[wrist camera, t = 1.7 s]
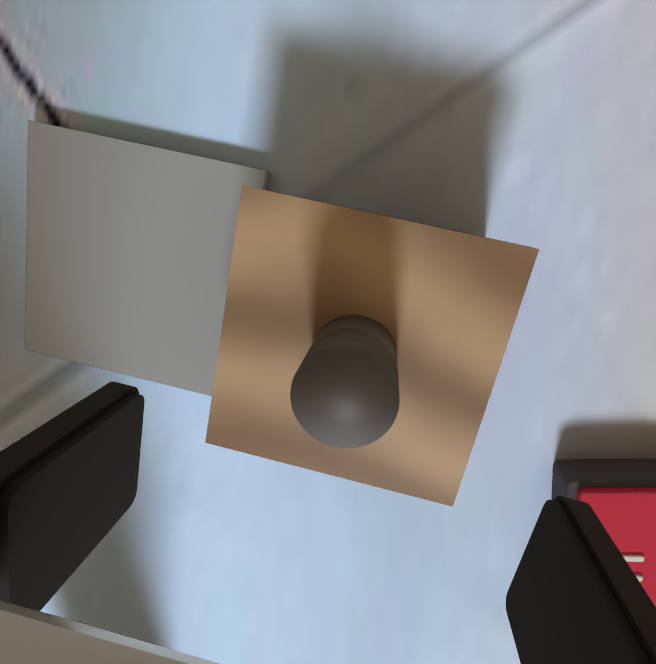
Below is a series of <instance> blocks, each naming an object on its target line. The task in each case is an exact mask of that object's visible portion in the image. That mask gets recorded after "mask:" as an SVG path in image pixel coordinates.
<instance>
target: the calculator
mask: <svg viewBox="0 0 656 664" xmlns="http://www.w3.org/2000/svg"><path fill="white" fill-rule="evenodd" d="M557 496H564V497H568V498H571V499H575V500H579V501H583V502H586V503H588V504H589V505H590V506H591V508H592V509H593V511H594V512H595V514H596V515H597V517H598V518H599V520H600V521H601V523H602V525H603V526H604V528H605V529H606V531H607V532H608V534H609V535H610V537H611V538H612V540H613V542H614V543H615V545H616V546H617V548H618V549H619V551H620V552H621V554H622V556H623V557H624V559H625V560H626V562H627V563H628V565H629V566H630V568H631V569H632V571H633V573H634V574H635V576H636V577H637V579H638V580H639V582H640V583H641V585H642V586H643V588H644V590H645V591H646V593H647V594H648V596H649V597H650V599H651V600H652V602H653V604H654V605H655V607H656V459H576V460H558V461H556V462H555V463H554V464H553V477H552V501H553V500H554V499H555V498H556V497H557Z"/></svg>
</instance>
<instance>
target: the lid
mask: <svg viewBox="0 0 656 664" xmlns="http://www.w3.org/2000/svg"><path fill="white" fill-rule="evenodd" d="M538 251H539V249H536V248H532V247H528V246H523V245H518V244H514V243H509V242H505V241H500V240H495V239H491V238H486V237H481V236H477V235H472V234H467V233H463V232H458V231H453V230H449V229H444V228H439V227H435V226H430V225H426V224H421V223H416V222H412V221H407V220H402V219H398V218H393V217H388V216H384V215H379V214H374V213H370V212H365V211H360V210H356V209H351V208H347V207H342V206H337V205H333V204H328V203H323V202H319V201H314V200H309V199H305V198H300V197H295V196H291V195H286V194H281V193H277V192H272V191H267V190H263V189H258V188H254V187H249V186H243V185H242V190H241V197H240V204H239V211H238V218H237V225H236V232H235V239H234V246H233V253H232V260H231V267H230V274H229V281H228V288H227V295H226V302H225V309H224V316H223V323H222V330H221V337H220V344H219V351H218V358H217V365H216V372H215V379H214V386H213V393H212V400H211V407H210V414H209V421H208V428H207V435H206V442H205V443H209V444H213V445H217V446H221V447H225V448H229V449H232V450H236V451H240V452H244V453H248V454H252V455H256V456H259V457H263V458H267V459H271V460H275V461H279V462H283V463H287V464H290V465H294V466H298V467H302V468H306V469H310V470H314V471H317V472H321V473H325V474H329V475H333V476H337V477H341V478H345V479H348V480H352V481H356V482H360V483H364V484H368V485H372V486H376V487H379V488H383V489H387V490H391V491H395V492H399V493H403V494H406V495H410V496H414V497H418V498H422V499H426V500H430V501H434V502H437V503H441V504H445V505H449V506H453V504H454V501H455V498H456V495H457V492H458V489H459V486H460V483H461V480H462V477H463V474H464V471H465V468H466V465H467V462H468V459H469V456H470V453H471V450H472V447H473V444H474V441H475V439H476V436H477V433H478V430H479V427H480V424H481V421H482V418H483V415H484V412H485V409H486V406H487V403H488V400H489V397H490V394H491V391H492V388H493V385H494V382H495V379H496V376H497V373H498V370H499V367H500V364H501V361H502V358H503V355H504V352H505V349H506V346H507V343H508V340H509V337H510V334H511V331H512V328H513V325H514V322H515V319H516V317H517V314H518V311H519V308H520V305H521V302H522V299H523V296H524V293H525V290H526V287H527V284H528V281H529V278H530V275H531V272H532V269H533V266H534V263H535V260H536V257H537V254H538Z"/></svg>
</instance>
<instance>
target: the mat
mask: <svg viewBox="0 0 656 664" xmlns="http://www.w3.org/2000/svg"><path fill="white" fill-rule="evenodd" d="M269 176H270V172H269V171H266V170H261V169H256V168H252V167H247V166H242V165H237V164H233V163H228V162H223V161H219V160H214V159H209V158H204V157H200V156H195V155H190V154H186V153H181V152H176V151H171V150H167V149H162V148H157V147H152V146H148V145H143V144H138V143H134V142H129V141H124V140H119V139H115V138H110V137H105V136H101V135H96V134H91V133H86V132H82V131H77V130H72V129H68V128H63V127H58V126H53V125H49V124H44V123H39V122H35V121H30V120H28V175H27V253H26V330H25V349H26V350H30V351H34V352H38V353H42V354H46V355H50V356H54V357H58V358H62V359H66V360H70V361H74V362H78V363H82V364H86V365H89V366H93V367H97V368H101V369H105V370H109V371H113V372H117V373H121V374H125V375H129V376H133V377H137V378H141V379H145V380H149V381H153V382H157V383H161V384H165V385H169V386H173V387H177V388H181V389H185V390H189V391H193V392H197V393H201V394H205V395H209V396H212V393H213V386H214V379H215V372H216V365H217V358H218V351H219V344H220V337H221V330H222V323H223V316H224V309H225V302H226V295H227V288H228V281H229V274H230V267H231V260H232V253H233V246H234V239H235V232H236V225H237V218H238V211H239V204H240V197H241V190H242V185H243V186H249V187H254V188H258V189H263V190H267V188H268V182H269Z"/></svg>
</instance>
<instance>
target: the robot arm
mask: <svg viewBox="0 0 656 664" xmlns="http://www.w3.org/2000/svg"><path fill="white" fill-rule="evenodd" d="M143 412H144V397H143V396H142V395H139V391H138V389H137V388H136V387H133V386H129V385H125V384H121V383H117V382H110V383H108V384H106V385H105V386H103V387H102V388H100V389H98V390H97V391H95V392H94V393H92V394H91V395H89V396H87V397H86V398H84V399H83V400H81V401H80V402H78V403H76V404H75V405H73V406H72V407H70V408H69V409H67V410H65V411H64V412H62V413H61V414H59V415H58V416H56V417H54V418H53V419H51V420H50V421H48V422H47V423H45V424H43V425H42V426H40V427H39V428H37V429H36V430H34V431H32V432H31V433H29V434H28V435H26V436H25V437H23V438H21V439H20V440H18V441H17V442H15V443H14V444H12V445H10V446H9V447H7V448H6V449H4V450H2V451H1V452H0V664H219V663H215V662H212V661H208V660H205V659H202V658H198V657H195V656H192V655H188V654H185V653H181V652H178V651H175V650H171V649H168V648H164V647H161V646H157V645H154V644H151V643H147V642H144V641H140V640H137V639H134V638H130V637H127V636H123V635H120V634H117V633H113V632H110V631H106V630H103V629H99V628H96V627H93V626H89V625H86V624H82V623H79V622H76V621H72V620H69V619H65V618H62V617H58V616H55V615H51V614H47V613H44V612H40V610H41V609H42V608H43V607H44V606H45V605H46V603H47V602H48V601H49V600H50V599H51V598H52V596H53V595H54V594H55V593H56V592H57V591H58V590H59V588H60V587H61V586H62V585H63V584H64V583H65V581H66V580H67V579H68V578H69V577H70V576H71V574H72V573H73V572H74V571H75V570H76V569H77V568H78V566H79V565H80V564H81V563H82V562H83V561H84V559H85V558H86V557H87V556H88V555H89V554H90V553H91V551H92V550H93V549H94V548H95V547H96V546H97V544H98V543H99V542H100V541H101V540H102V539H103V537H104V536H105V535H106V534H107V533H108V532H109V531H110V529H111V528H112V527H113V526H114V525H115V524H116V522H117V521H118V520H119V519H120V518H121V517H122V515H123V514H124V513H125V512H126V511H127V510H128V509H129V507H130V506H131V504H132V503H133V501H134V498H135V496H136V492H137V482H138V470H139V459H140V447H141V436H142V424H143ZM506 611H507V615H508V619H509V622H510V626H511V629H512V633H513V637H514V640H515V644H516V648H517V651H518V655H519V659H520V662H521V664H656V607H655V605H654V604H653V602H652V600H651V599H650V597H649V596H648V594H647V593H646V591H645V590H644V588H643V586H642V585H641V583H640V582H639V580H638V579H637V577H636V576H635V574H634V573H633V571H632V569H631V568H630V566H629V565H628V563H627V562H626V560H625V559H624V557H623V556H622V554H621V552H620V551H619V549H618V548H617V546H616V545H615V543H614V542H613V540H612V538H611V537H610V535H609V534H608V532H607V531H606V529H605V528H604V526H603V525H602V523H601V521H600V520H599V518H598V517H597V515H596V514H595V512H594V511H593V509H592V508H591V506H590V505H589V504H588V503H586V502H583V501H579V500H575V499H571V498H568V497H564V496H557V497H556V498H555V499H554V500H553V501H552V500H547V501H546V502H545V504H544V506H543V508H542V511H541V513H540V516H539V518H538V520H537V523H536V525H535V528H534V530H533V532H532V535H531V537H530V539H529V542H528V544H527V547H526V549H525V551H524V554H523V556H522V559H521V561H520V563H519V566H518V568H517V571H516V573H515V575H514V578H513V580H512V583H511V585H510V587H509V590H508V592H507V596H506Z"/></svg>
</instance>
